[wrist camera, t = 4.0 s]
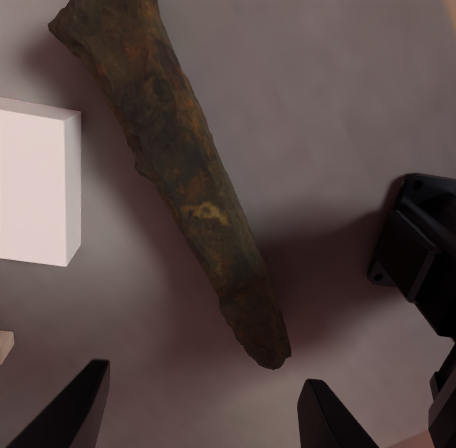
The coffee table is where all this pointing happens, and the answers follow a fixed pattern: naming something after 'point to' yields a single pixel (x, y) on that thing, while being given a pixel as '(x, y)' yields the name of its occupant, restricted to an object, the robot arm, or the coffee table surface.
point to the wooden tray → (5, 344)
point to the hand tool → (178, 158)
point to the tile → (39, 182)
